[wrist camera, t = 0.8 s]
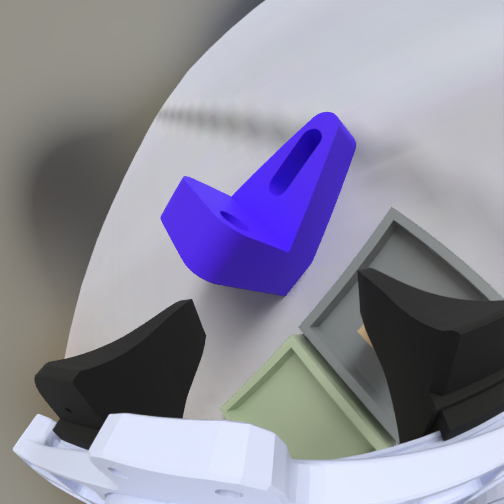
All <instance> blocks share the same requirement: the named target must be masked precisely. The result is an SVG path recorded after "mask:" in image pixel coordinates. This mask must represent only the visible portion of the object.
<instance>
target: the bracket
mask: <svg viewBox="0 0 504 504" xmlns="http://www.w3.org/2000/svg"><path fill="white" fill-rule="evenodd" d="M355 149H356V142H355V139H354V138H353V136H352V135H351V134H350V132H349V131H348V130H347V129H346V127H345V126H344V125H343V123H342V122H341V121H340V120H339V118H338V117H337V116H336V115H335V114H334V113H331V112H323V113H320V114H318V115H316V116H315V117H313V118H312V119H311V120H310V121H309V122H308V123H307V124H306V125H305V126H303V127H302V128H301V129H300V130H299V131H298V132H297V133H296V134H295V135H294V136H293V137H292V138H291V139H290V140H288V141H287V142H286V143H285V144H284V145H283V146H282V147H281V148H280V149H279V150H278V151H277V152H276V153H275V154H274V155H273V156H272V157H271V158H270V159H269V160H268V161H267V162H266V163H265V164H263V165H262V166H261V167H260V168H259V169H258V170H257V171H256V172H255V173H254V174H253V175H252V176H251V177H250V178H249V179H248V180H247V181H246V182H245V183H244V184H243V185H242V186H241V187H240V188H239V189H238V190H237V191H236V192H235V193H234V195H233V196H232V197H231V196H229V195H227V194H225V193H223V192H221V191H218V190H216V189H214V188H212V187H210V186H208V185H206V184H204V183H201V182H199V181H197V180H195V179H193V178H190V177H187V176H184V177H183V178H182V180H181V182H180V183H179V185H178V187H177V189H176V190H175V192H174V194H173V196H172V197H171V199H170V201H169V203H168V204H167V206H166V208H165V210H164V212H163V213H162V215H161V221H162V223H163V225H164V227H165V229H166V230H167V232H168V234H169V236H170V238H171V240H172V242H173V244H174V245H175V247H176V249H177V251H178V253H179V255H180V256H181V258H182V260H183V262H184V263H185V265H186V266H187V267H188V268H189V269H190V270H191V271H192V272H193V273H194V274H196V275H197V276H199V277H200V278H202V279H204V280H206V281H208V282H211V283H214V284H218V285H224V286H229V287H235V288H241V289H246V290H252V291H258V292H264V293H270V294H276V295H282V296H286V295H287V293H288V292H289V291H290V290H291V288H292V287H293V286H294V285H295V283H296V282H297V281H298V279H299V278H300V277H301V276H302V274H303V273H304V272H305V270H306V269H307V268H308V267H309V265H310V264H311V263H312V261H313V259H314V256H315V254H316V252H317V249H318V247H319V244H320V242H321V240H322V237H323V235H324V232H325V230H326V227H327V225H328V222H329V220H330V217H331V214H332V212H333V209H334V207H335V204H336V201H337V199H338V196H339V193H340V191H341V188H342V185H343V183H344V180H345V177H346V174H347V172H348V169H349V166H350V163H351V160H352V157H353V155H354V152H355Z"/></svg>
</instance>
